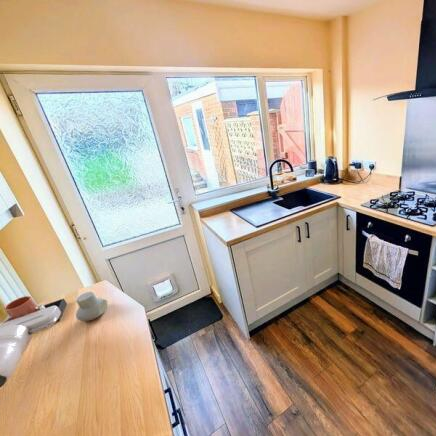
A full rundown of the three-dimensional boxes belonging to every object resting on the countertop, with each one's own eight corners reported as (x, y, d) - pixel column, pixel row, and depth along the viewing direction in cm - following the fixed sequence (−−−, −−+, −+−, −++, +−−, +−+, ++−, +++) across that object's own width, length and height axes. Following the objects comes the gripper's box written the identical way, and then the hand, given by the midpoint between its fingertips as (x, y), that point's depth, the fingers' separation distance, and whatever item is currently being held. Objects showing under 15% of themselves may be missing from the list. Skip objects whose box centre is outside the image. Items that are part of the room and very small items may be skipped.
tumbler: (20, 337, 83) (0, 313, 78) (27, 324, 88) (9, 301, 83) (44, 328, 85) (26, 304, 81) (49, 316, 90) (33, 293, 86)
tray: (21, 334, 98) (17, 329, 97) (32, 315, 108) (29, 310, 107) (59, 320, 103) (56, 315, 102) (67, 303, 113) (63, 298, 112)
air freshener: (100, 321, 100) (89, 303, 96) (77, 326, 99) (65, 308, 95) (111, 303, 110) (101, 285, 106) (91, 307, 109) (80, 290, 105)
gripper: (48, 317, 77) (60, 292, 88) (-45, 351, 68) (-19, 318, 79) (58, 331, 79) (68, 305, 90) (-30, 366, 71) (-7, 332, 82)
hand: (27, 312), depth 85 cm, fingers closed on tumbler, 6 cm apart
